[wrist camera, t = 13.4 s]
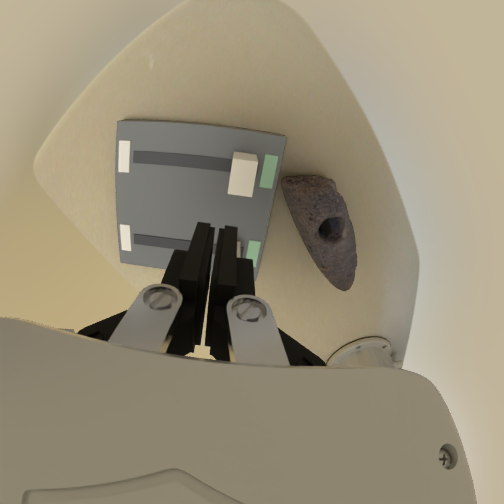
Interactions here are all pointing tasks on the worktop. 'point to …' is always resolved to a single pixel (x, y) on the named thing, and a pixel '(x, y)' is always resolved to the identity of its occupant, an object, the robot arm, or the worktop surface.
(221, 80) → the worktop surface
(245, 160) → the block
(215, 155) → the slider switch panel
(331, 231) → the perforated stone tool
